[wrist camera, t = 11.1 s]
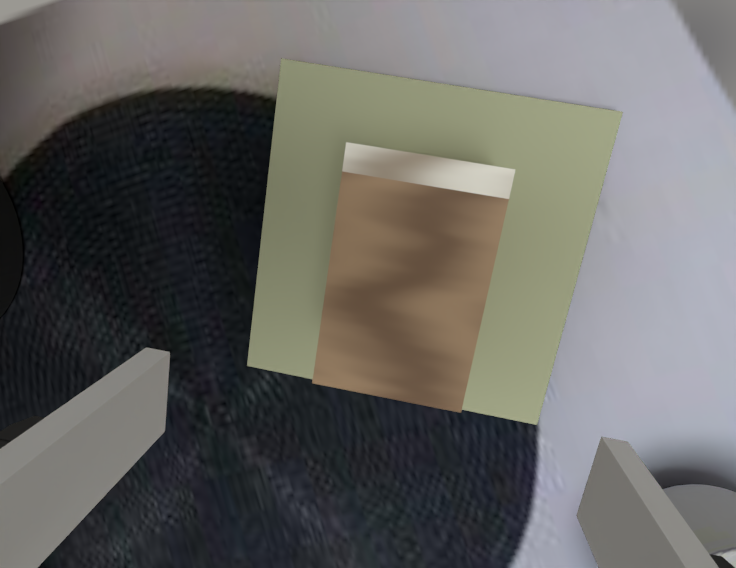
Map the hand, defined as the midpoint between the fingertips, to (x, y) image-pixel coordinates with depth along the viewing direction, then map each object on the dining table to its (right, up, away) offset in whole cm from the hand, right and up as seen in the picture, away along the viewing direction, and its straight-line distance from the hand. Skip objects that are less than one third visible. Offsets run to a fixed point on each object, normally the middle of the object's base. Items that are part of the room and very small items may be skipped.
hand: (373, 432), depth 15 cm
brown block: (+1, 0, +12) cm, 12 cm away
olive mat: (+3, +7, +15) cm, 16 cm away
